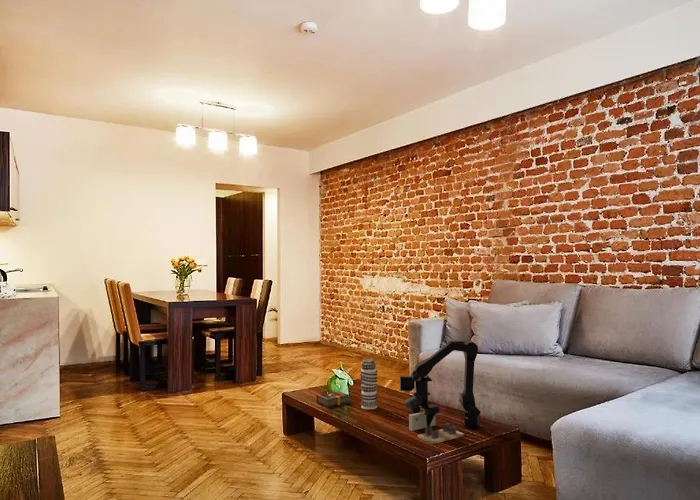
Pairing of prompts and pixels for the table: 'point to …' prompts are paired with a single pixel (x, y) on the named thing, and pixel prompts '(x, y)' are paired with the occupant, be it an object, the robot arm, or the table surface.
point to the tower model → (368, 384)
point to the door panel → (419, 421)
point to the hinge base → (440, 434)
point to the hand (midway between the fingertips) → (422, 424)
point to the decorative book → (333, 399)
